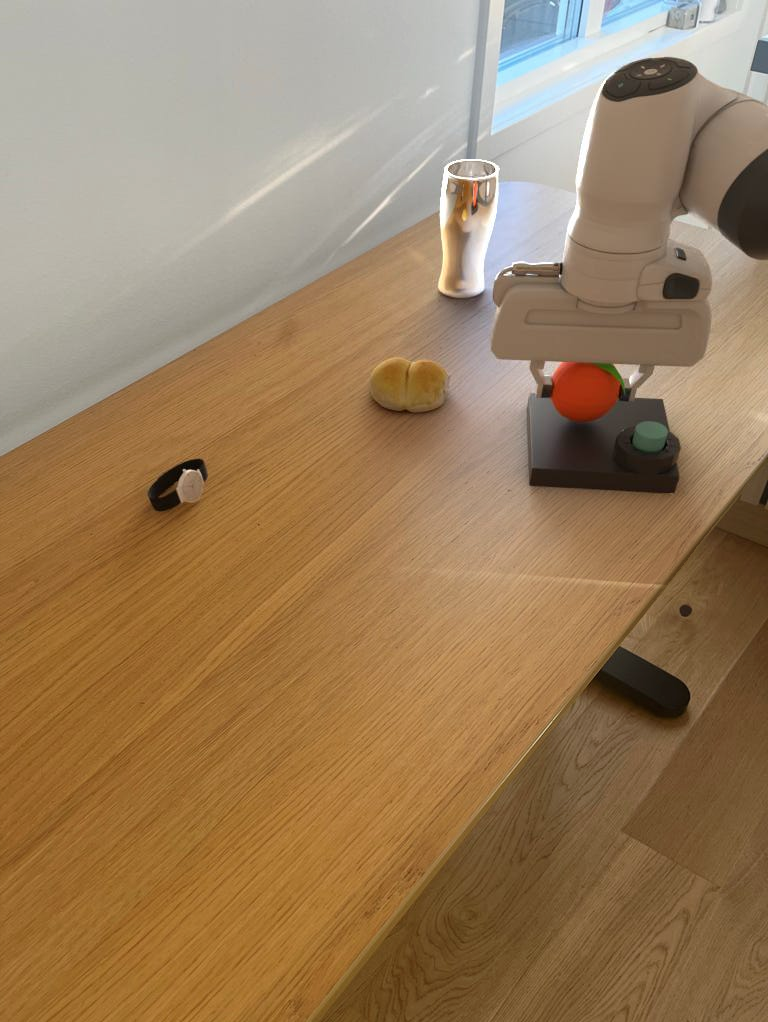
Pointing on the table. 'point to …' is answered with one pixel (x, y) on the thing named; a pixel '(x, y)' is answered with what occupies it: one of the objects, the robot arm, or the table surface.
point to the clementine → (585, 390)
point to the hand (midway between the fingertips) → (583, 396)
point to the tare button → (650, 436)
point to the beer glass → (466, 225)
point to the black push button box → (599, 449)
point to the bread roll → (409, 384)
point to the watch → (179, 485)
